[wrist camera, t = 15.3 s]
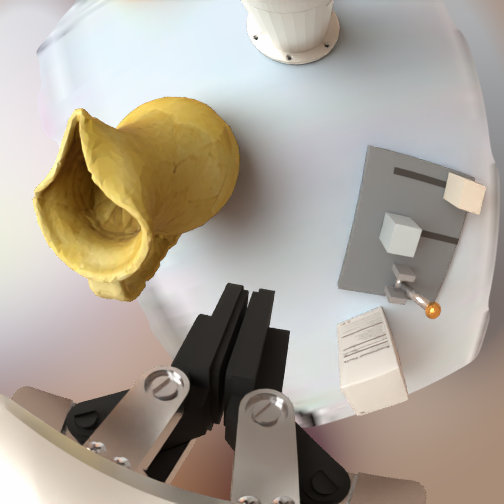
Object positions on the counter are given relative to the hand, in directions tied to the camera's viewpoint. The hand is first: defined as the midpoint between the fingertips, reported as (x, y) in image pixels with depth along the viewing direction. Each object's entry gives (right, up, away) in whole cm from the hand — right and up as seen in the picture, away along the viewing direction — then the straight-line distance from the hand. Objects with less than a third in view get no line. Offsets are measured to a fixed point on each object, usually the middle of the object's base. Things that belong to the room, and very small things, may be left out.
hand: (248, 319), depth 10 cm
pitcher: (-9, +16, +31) cm, 36 cm away
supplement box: (+21, -12, +37) cm, 44 cm away
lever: (+22, -2, +29) cm, 37 cm away
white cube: (+21, +6, +27) cm, 34 cm away
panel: (+24, +6, +28) cm, 37 cm away
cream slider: (+30, +12, +22) cm, 39 cm away
